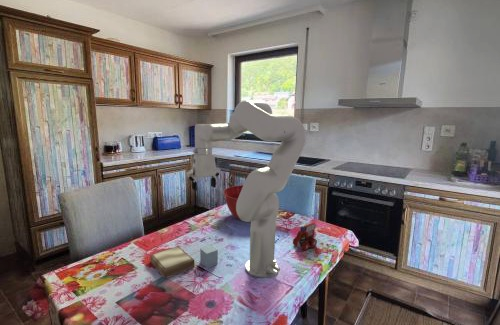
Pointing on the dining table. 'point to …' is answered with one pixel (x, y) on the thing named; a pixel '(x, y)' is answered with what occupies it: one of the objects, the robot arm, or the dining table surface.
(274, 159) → the robot arm
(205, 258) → the block
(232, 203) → the mixing bowl
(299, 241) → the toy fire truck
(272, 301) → the dining table surface
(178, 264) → the plinth
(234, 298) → the dining table surface
